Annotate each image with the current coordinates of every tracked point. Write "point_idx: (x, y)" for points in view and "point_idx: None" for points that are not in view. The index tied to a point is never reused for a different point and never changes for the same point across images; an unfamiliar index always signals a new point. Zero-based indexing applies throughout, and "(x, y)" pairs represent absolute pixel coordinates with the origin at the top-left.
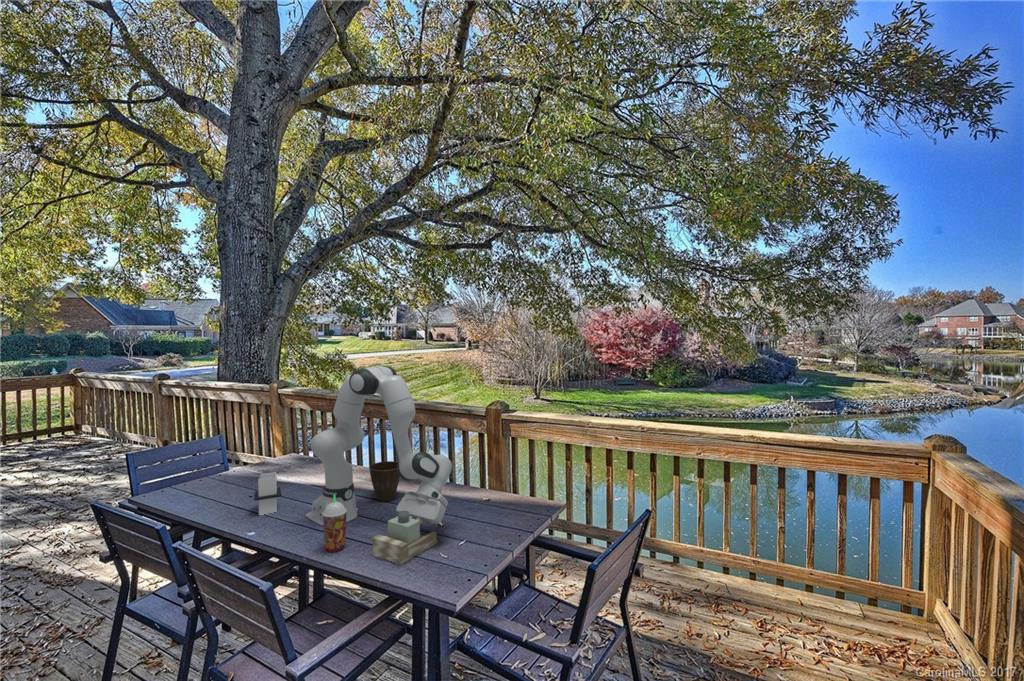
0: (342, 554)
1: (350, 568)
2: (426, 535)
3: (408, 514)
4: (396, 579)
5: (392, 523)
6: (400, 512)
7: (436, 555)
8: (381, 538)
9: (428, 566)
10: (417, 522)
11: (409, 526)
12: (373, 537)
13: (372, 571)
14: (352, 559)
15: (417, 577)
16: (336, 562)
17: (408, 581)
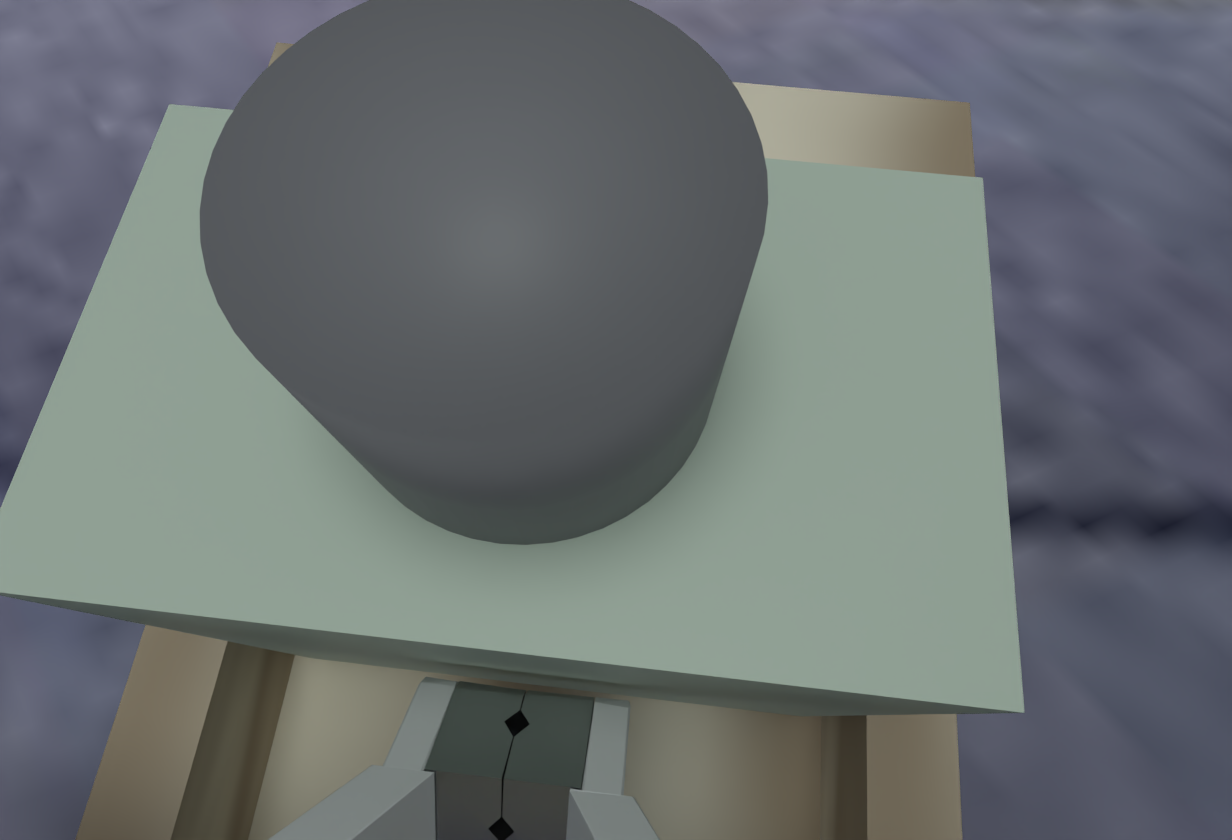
0: (1210, 176)
1: (853, 14)
2: (159, 820)
3: (227, 245)
4: (274, 25)
5: (772, 178)
6: (661, 162)
7: (14, 621)
8: (793, 133)
9: (29, 329)
10: (30, 484)
11: (158, 157)
12: (951, 112)
13: None
14: (999, 138)
15: (73, 115)
16: (1090, 42)
17: (137, 37)
